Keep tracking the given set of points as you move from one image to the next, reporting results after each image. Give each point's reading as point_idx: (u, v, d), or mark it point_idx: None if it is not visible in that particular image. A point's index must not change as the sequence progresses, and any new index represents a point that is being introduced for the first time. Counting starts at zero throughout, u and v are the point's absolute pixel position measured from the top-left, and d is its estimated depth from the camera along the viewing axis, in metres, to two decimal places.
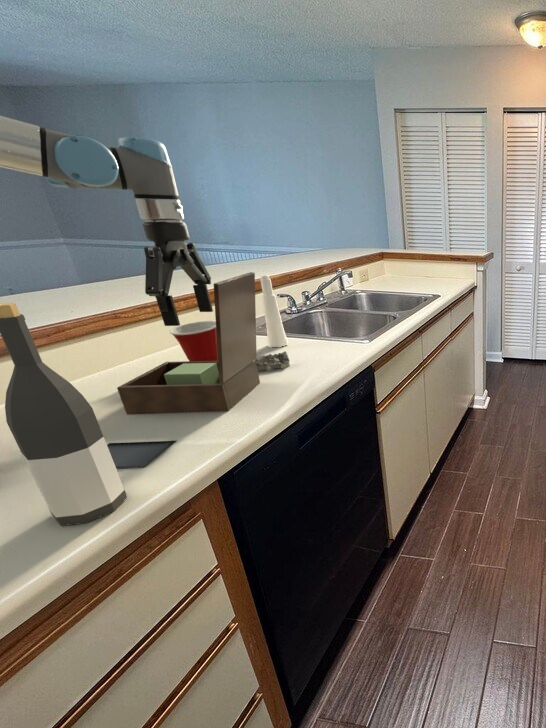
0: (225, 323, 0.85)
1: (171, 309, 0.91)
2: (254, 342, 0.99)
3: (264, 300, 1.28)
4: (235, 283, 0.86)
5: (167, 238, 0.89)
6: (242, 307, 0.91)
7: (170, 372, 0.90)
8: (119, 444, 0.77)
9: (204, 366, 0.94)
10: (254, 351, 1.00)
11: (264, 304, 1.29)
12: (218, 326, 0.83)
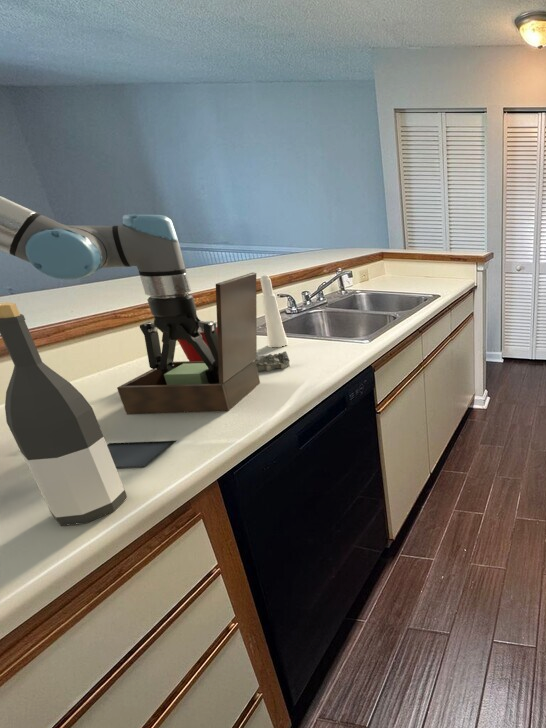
0: (226, 323, 0.85)
1: None
2: (254, 342, 0.99)
3: (264, 300, 1.28)
4: (237, 284, 0.86)
5: (195, 309, 0.90)
6: (243, 307, 0.91)
7: (170, 372, 0.90)
8: (119, 444, 0.77)
9: (204, 366, 0.94)
10: (254, 351, 1.00)
11: (264, 304, 1.29)
12: (219, 326, 0.83)
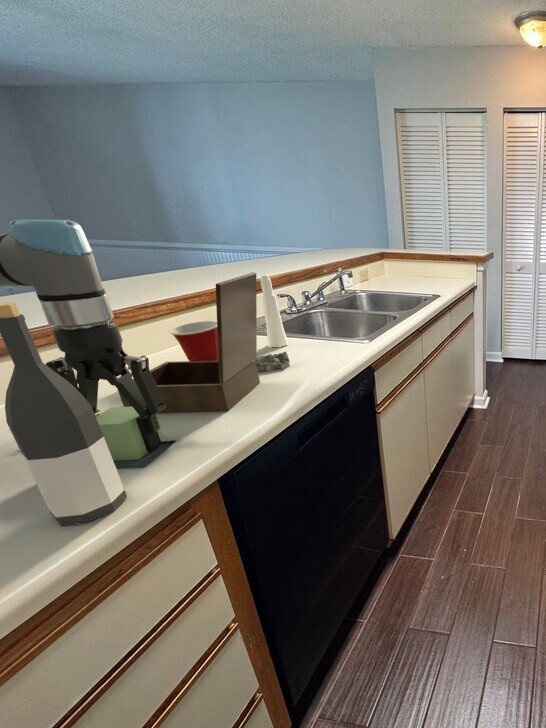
0: (226, 323, 0.85)
1: None
2: (254, 342, 0.99)
3: (264, 300, 1.28)
4: (237, 284, 0.86)
5: (121, 340, 0.70)
6: (243, 307, 0.91)
7: None
8: None
9: None
10: (254, 351, 1.00)
11: (264, 304, 1.29)
12: (219, 326, 0.83)
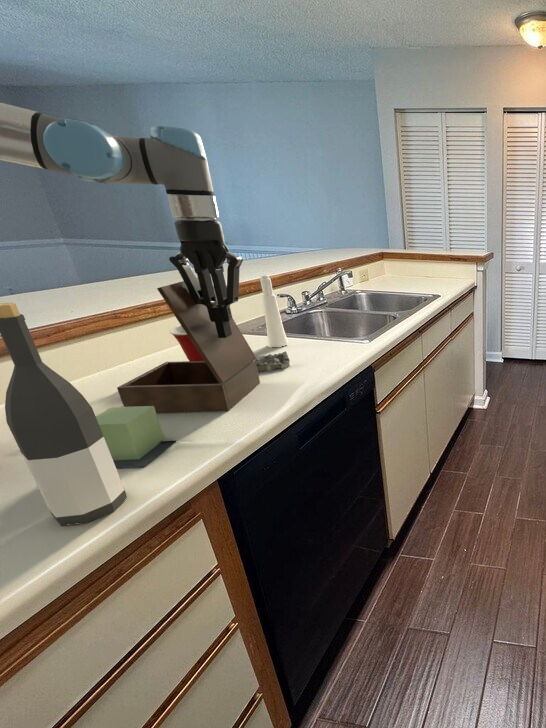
0: (193, 324, 0.84)
1: None
2: (244, 342, 0.99)
3: (264, 300, 1.28)
4: (185, 286, 0.85)
5: None
6: None
7: None
8: None
9: (137, 411, 0.74)
10: (249, 351, 1.00)
11: (264, 304, 1.29)
12: (186, 328, 0.82)
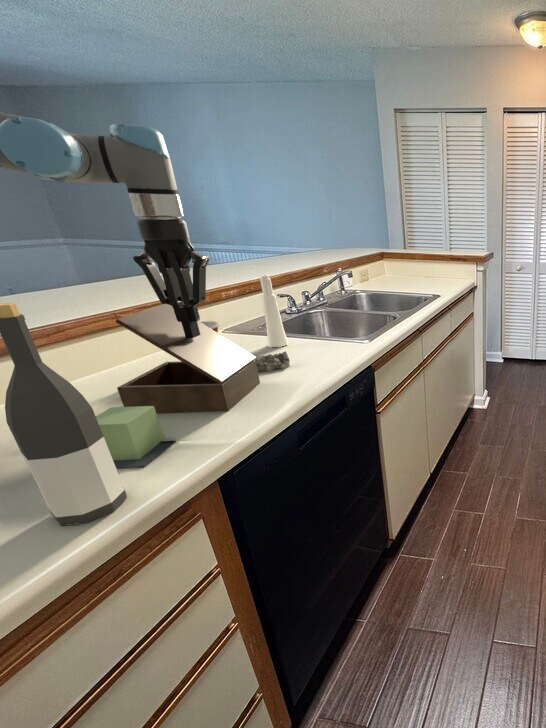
0: (167, 342, 0.85)
1: None
2: (236, 347, 0.99)
3: (264, 300, 1.28)
4: (146, 314, 0.87)
5: (188, 236, 0.85)
6: (180, 327, 0.91)
7: None
8: None
9: (137, 411, 0.74)
10: (245, 353, 1.00)
11: (264, 304, 1.29)
12: (161, 346, 0.83)
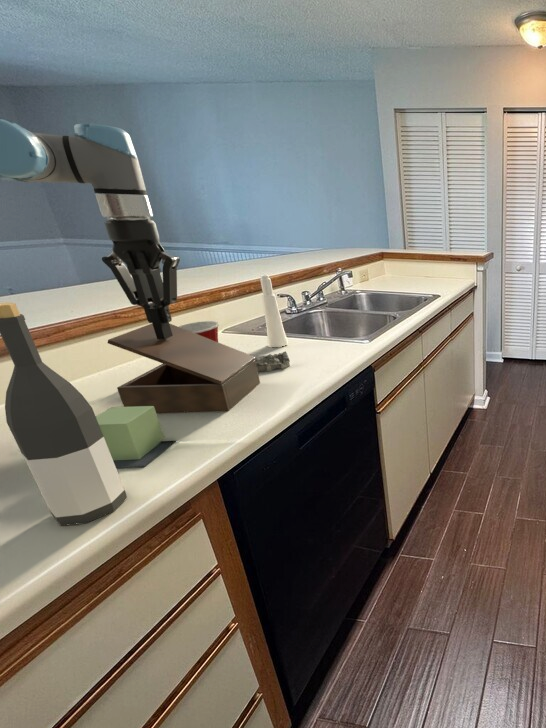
0: (162, 353, 0.85)
1: None
2: (234, 350, 0.99)
3: (264, 300, 1.28)
4: (137, 332, 0.88)
5: (158, 237, 0.84)
6: (174, 340, 0.92)
7: None
8: None
9: (137, 411, 0.74)
10: (243, 354, 1.00)
11: (264, 304, 1.29)
12: (155, 358, 0.84)
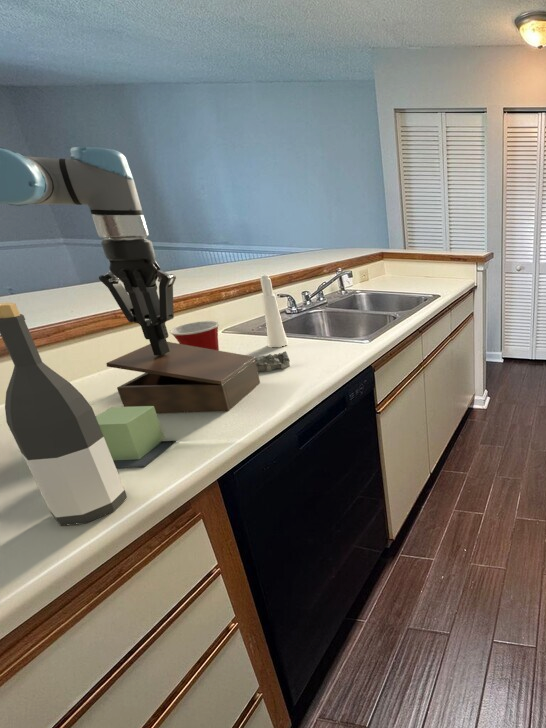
0: (160, 367, 0.86)
1: None
2: (233, 354, 1.00)
3: (264, 300, 1.28)
4: (135, 353, 0.89)
5: (154, 255, 0.85)
6: (172, 354, 0.93)
7: None
8: None
9: (137, 411, 0.74)
10: (242, 356, 1.00)
11: (264, 304, 1.29)
12: (154, 372, 0.85)
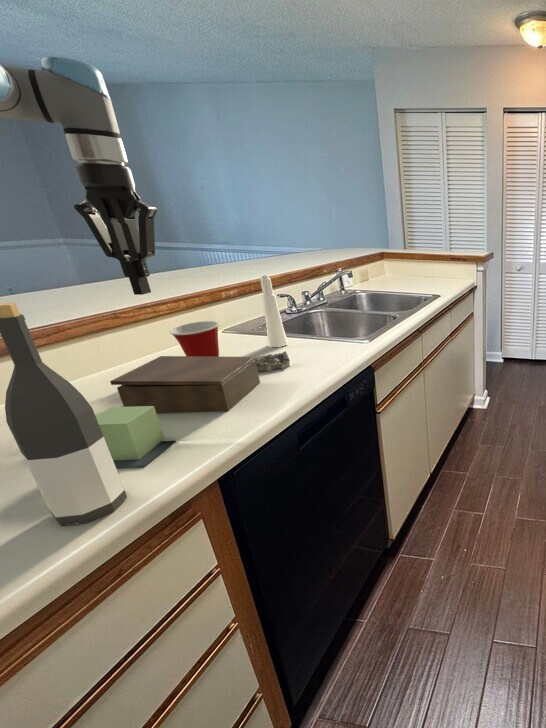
0: (161, 377, 0.87)
1: None
2: (233, 358, 1.00)
3: (264, 300, 1.28)
4: (138, 369, 0.91)
5: (134, 185, 0.80)
6: (174, 365, 0.94)
7: None
8: None
9: (137, 411, 0.74)
10: (242, 358, 1.00)
11: (264, 304, 1.29)
12: (156, 382, 0.85)
